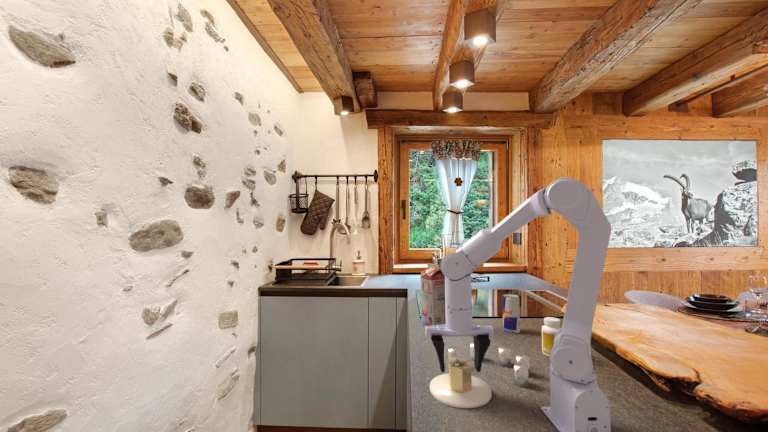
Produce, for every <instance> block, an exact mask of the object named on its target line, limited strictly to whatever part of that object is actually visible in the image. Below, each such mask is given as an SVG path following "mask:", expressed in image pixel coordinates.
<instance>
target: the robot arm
mask: <svg viewBox="0 0 768 432" xmlns="http://www.w3.org/2000/svg"><path fill="white" fill-rule="evenodd" d="M600 205H601V204H599V201H598V200H597V198H596V196H595V195H594V192H593V191H592V190H591V189H590V188H588V187H587V186H586V185H584V184H583V183H582V182H581V181H579V180H578V179H576V178H573V177H567V176H566V177H560V178H558V179H555V180H553V181H552V182H550V184H549V185H548V186H547V187H546V188H545V187H543V188H542V189H540V190H538V191H536V192H535V193H534V194H532V195H531V196H530V197H528V198H527V199H525V200H524V201H523V202H522V203H521V204H520V205H518V206H517V207H516V208H515V209H514V210H513V211H511V212H510V213H509V214H508V215H507V216H506V217H504V218H503V219H502V220H501V221H500V222H498V223H497V224H495V225H494V226H493V227H492V228H491V229H489V228H481V229H480V230H477V229H476V230H474V231H473V232H472V233H471V237H470V238H468V240H466V241H465V242H464V243H462V244H461V245H460V244H458V245H456V246H455V252H454V251H450V252H448V253H446V254H445V255H444V257H442V259H441V261H440V270H441V271H442V273H443V274H444V276H445V314H446V324H442V325H435V326H424V327H425V328H424V329H425V331H424V332H425V337H426V339H431V343H432V345H433V346H434V350H435V352H436V354H437V359H438V363H439V368H440V371H441V373H445V371H446V366H445V365H446V364H445V342H444V338H445V337H472V339H473V341H474V350H475V355H474V360H473V361H474V362H473V363H474V369H475V370H476V372H477V373H480V372H481V369H482V365H483V361H484V358H485V355H486V353H487V351H488V349H489V347H490V346H491V338H494V337H495V334H494V332H495V331H494V329H495V328H494V327H493V326H492V325H485V324H474V323H473V300H472V299H473V296H472V295H473V294H472V292H473V291H472V274H473V272H474V271H475V269H477V268H479V267H481V266H482V264H484V263H486V262H487V261H488V260H490V259H491V258H492V257H494V256H495V255H497V253H499V252H500V251H501V250H502V242H503V241H504V240H505V239H507V238H508V237H510V236H512V235H513V234H514V233H516V232H517V231H518V230H520V229H521V228H523V227H524V226H526V225H528V223H530V222H531V221H533V220H534V219H536V218H541V217H542V218H543V217H549V216H552V215H553V213H552V211H554V212H556V213H557V214H558V215H560V216H562V217H563V218H565V219H566V220H567V221H568V223H570V225H571V226H572V227H573V228H574V229H575V230H576V231H577V232H578V234H579V236H578V241H577V247H576V251H575V256H574V262H573V268H572V272H571V273H572V274H571V277H570V283H569V287H568V292H567V293H568V294H567V297H566V298H567V299H566V305H565V309H564V314H563V320H562V323H561V324H562V325H561V326H560V327H561V329H560V331H559V332H558V333H557V334H556V335H555V337H554V341H553V342H554V345H553V349H552V350H551V353H550V357H549V360H550V361H549V362H550V364H549V389H550V390H549V391H550V393H549V394H550V406H541V411H542V412H543V413H544V415H546V417H547V418H548V419H549V421H550V422H551V423H552V424H553V425H554V427H556V429H557V430H558V431H559V432H612V431H611V430H612V429H611V404H610V402H609V399H608V397H607V395H605V394H604V392H603V391H602V390H601V388H599V385H598V381H597V374H596V371H595V370H594V367H593V365H594V364H593V360H592V344H591V341H592V340H591V339H592V331H593V325H594V319H595V314H596V308H597V303H598V300H599V293H600V288H601V284H602V278H603V274H604V269H605V264H606V258H607V252H608V248H609V243H610V238H611V233H612V226H611V223H610V221H609V220H608V218H607V215H606V214H605V212H604V210H603V208H602V207H601V206H600ZM551 210H552V211H551ZM443 337H444V338H443Z"/></svg>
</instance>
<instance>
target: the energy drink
mask: <svg viewBox="0 0 768 432" xmlns="http://www.w3.org/2000/svg"><path fill="white" fill-rule="evenodd" d="M501 300H502V301H501V302H502V305H501V306H502V330H503V331H504V333H507V334H511V335H517V334H520V332H521V315H520V314H521V313H520V311H521V310H520V296H519V295H518V294H514V293H504V294H502V299H501Z"/></svg>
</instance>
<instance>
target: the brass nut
mask: <svg viewBox="0 0 768 432" xmlns="http://www.w3.org/2000/svg"><path fill="white" fill-rule="evenodd" d="M447 361H448V360H447ZM447 366H448V373H449V386H450V389H451V390H452V391H456V392H459V393H465V392H468V391H471V390H472V378H471V376H472V366H471V364H470V362H469V361H468V360H464V359H461V358H460V359H455V360H451V361H448V365H447Z"/></svg>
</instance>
